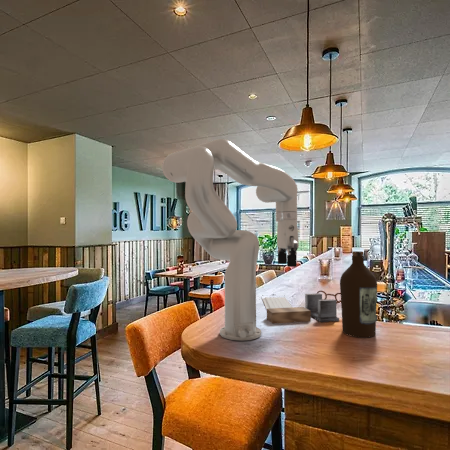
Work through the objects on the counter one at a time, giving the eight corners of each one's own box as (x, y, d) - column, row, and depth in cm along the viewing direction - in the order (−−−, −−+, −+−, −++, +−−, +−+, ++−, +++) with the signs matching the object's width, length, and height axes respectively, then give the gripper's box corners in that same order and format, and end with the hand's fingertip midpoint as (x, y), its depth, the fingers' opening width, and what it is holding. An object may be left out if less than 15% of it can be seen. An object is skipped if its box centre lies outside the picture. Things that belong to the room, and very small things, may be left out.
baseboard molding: (265, 318, 118) (298, 319, 118) (265, 310, 118) (298, 311, 118) (259, 300, 149) (285, 300, 149) (259, 294, 149) (285, 294, 149)
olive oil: (333, 330, 102) (332, 251, 102) (357, 326, 106) (356, 250, 107) (359, 340, 92) (358, 253, 93) (385, 335, 97) (384, 252, 97)
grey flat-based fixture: (339, 321, 113) (339, 300, 113) (320, 322, 111) (320, 301, 112) (319, 310, 127) (319, 292, 127) (303, 311, 126) (302, 293, 126)
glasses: (346, 304, 140) (346, 293, 140) (334, 310, 130) (334, 297, 130) (317, 300, 148) (317, 289, 149) (304, 305, 139) (304, 293, 139)
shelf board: (303, 317, 118) (303, 306, 118) (310, 322, 112) (310, 310, 112) (266, 319, 116) (266, 308, 116) (272, 324, 110) (272, 312, 110)
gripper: (306, 216, 108) (306, 267, 108) (288, 218, 125) (288, 262, 125) (284, 216, 107) (285, 268, 106) (269, 218, 124) (269, 263, 124)
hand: (286, 265), depth 116 cm, fingers open, 9 cm apart
